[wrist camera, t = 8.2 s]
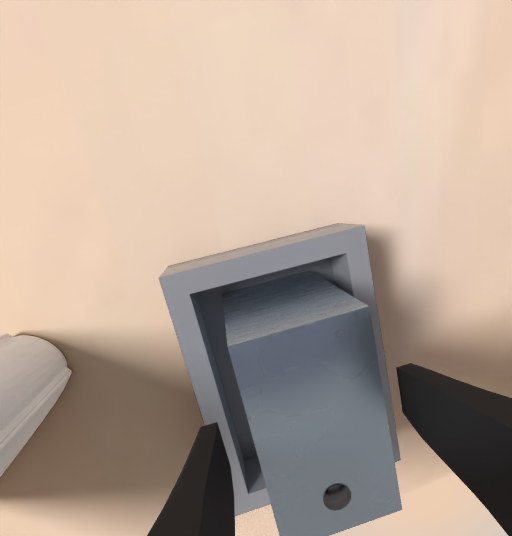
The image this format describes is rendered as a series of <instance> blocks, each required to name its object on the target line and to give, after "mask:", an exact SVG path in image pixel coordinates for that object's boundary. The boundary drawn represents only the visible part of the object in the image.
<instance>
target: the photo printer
mask: <svg viewBox="0 0 512 536" xmlns="http://www.w3.org/2000/svg"><path fill="white" fill-rule="evenodd" d="M71 373H72V371H71V370H70V369H68V368H67V361H66V359H65V357H64V356H63V354H62V353H61V352H60V351H59V350H58V349H57V348H56V347H55V346H54V345H52V344H51V343H49V342H48V341H46V340H43V339H41V338H38V337H34V336H29V335H19V336H15V337H13V336H12V335H9V334H4V335H1V336H0V477H1V475H2V474H3V473H4V471H5V470H6V469H7V468H8V466H9V465H10V464H11V462H12V461H13V460H14V458H15V457H16V456H17V455H18V453H19V452H20V451H21V449H22V448H23V447H24V445H25V444H26V443H27V441H28V440H29V439H30V437H31V436H32V435H33V433H34V432H35V431H36V429H37V428H38V426H39V425H40V424H41V422H42V421H43V420H44V418H45V417H46V415H47V414H48V412H49V411H50V410H51V408H52V407H53V405H54V404H55V403H56V401H57V400H58V398H59V396H60V395H61V393H62V391H63V390H64V388H65V386H66V384H67V382H68V380H69V378H70V375H71Z"/></svg>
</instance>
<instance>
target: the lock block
mask: <svg viewBox="0 0 512 536" xmlns="http://www.w3.org/2000/svg"><path fill="white" fill-rule="evenodd" d="M222 297H223V307H224V317H225V327H226V337H227V347H228V350H229V354H230V358H231V361H232V365H233V368H234V372H235V376H236V379H237V383H238V387H239V390H240V394H241V397H242V401H243V405H244V408H245V412H246V415H247V419H248V423H249V426H250V430H251V434H252V437H253V441H254V444H255V448H256V452H257V455H258V459H259V462H260V466H261V470H262V473H263V477H264V481H265V484H266V488H267V491H268V495H269V499H270V502H271V506H272V509H273V513H274V517H275V520H276V524H277V528H278V531H279V535H280V536H329V535H332V534H335V533H338V532H340V531H344V530H346V529H349V528H352V527H355V526H357V525H360V524H363V523H366V522H369V521H372V520H374V519H377V518H380V517H383V516H386V515H389V514H391V513H394V512H397V511H400V510H402V506H401V499H400V493H399V487H398V481H397V474H396V468H395V462H394V456H393V450H392V443H391V437H390V431H389V425H388V419H387V412H386V406H385V400H384V394H383V388H382V381H381V375H380V369H379V363H378V357H377V350H376V344H375V338H374V332H373V326H372V319H371V313H370V307H369V306H368V305H366V304H365V303H363V302H361V301H359V300H358V299H356V298H354V297H353V296H351V295H349V294H348V293H346V292H344V291H342V290H341V289H339V288H337V287H336V286H334V285H332V284H331V283H329V282H327V281H326V280H324V279H322V278H320V277H319V276H317V275H315V274H314V273H312V272H310V271H309V270H308V271H305V272H301V273H297V274H293V275H290V276H286V277H282V278H278V279H275V280H271V281H267V282H263V283H259V284H256V285H252V286H248V287H244V288H241V289H237V290H233V291H229V292H226V293H222Z"/></svg>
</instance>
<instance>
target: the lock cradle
mask: <svg viewBox="0 0 512 536" xmlns="http://www.w3.org/2000/svg"><path fill="white" fill-rule="evenodd" d="M308 270H309V271H310V272H312V273H314V274H315V275H317V276H319V277H320V278H322V279H324V280H326V281H327V282H329V283H331V284H332V285H334V286H336V287H337V288H339V289H341V290H342V291H344V292H346V293H348V294H349V295H351V296H353V297H354V298H356V299H358V300H359V301H361V302H363V303H365V304H366V305H368V306H369V307H370V313H371V319H372V326H373V332H374V338H375V344H376V350H377V357H378V363H379V369H380V375H381V381H382V388H383V394H384V400H385V406H386V412H387V419H388V425H389V431H390V437H391V443H392V450H393V456H394V462H397V461H399V460H401V459H400V452H399V446H398V440H397V433H396V427H395V420H394V414H393V408H392V401H391V395H390V388H389V382H388V375H387V369H386V363H385V356H384V350H383V343H382V337H381V330H380V324H379V318H378V311H377V305H376V298H375V292H374V285H373V279H372V273H371V266H370V260H369V253H368V247H367V241H366V234H365V228H364V225H354V224H339V223H337V224H333V225H329V226H325V227H321V228H317V229H314V230H310V231H306V232H302V233H298V234H294V235H290V236H286V237H282V238H278V239H274V240H270V241H266V242H262V243H258V244H254V245H250V246H246V247H242V248H238V249H234V250H230V251H226V252H222V253H218V254H214V255H210V256H207V257H203V258H199V259H195V260H191V261H187V262H183V263H179V264H175V265H171V266H168V268H167V269H166V270H165V271H164V272H163V273H162V274H161V275H160V277H159V281H160V284H161V287H162V290H163V293H164V297H165V300H166V303H167V306H168V309H169V313H170V316H171V319H172V322H173V325H174V329H175V332H176V335H177V338H178V341H179V344H180V348H181V351H182V354H183V357H184V360H185V364H186V367H187V370H188V373H189V376H190V380H191V383H192V386H193V389H194V392H195V396H196V399H197V402H198V405H199V408H200V411H201V415H202V418H203V421H204V424H205V426H206V425H209V424H212V423H216V422H217V423H218V426H219V429H220V433H221V436H222V439H223V443H224V446H225V449H226V453H227V456H228V459H229V462H230V466H231V472H232V481H233V490H234V507H235V516H237V515H240V514H243V513H246V512H249V511H252V510H255V509H258V508H260V507H263V506H266V505H269V504H271V502H270V499H269V495H268V491H267V488H266V484H265V481H264V477H263V473H262V470H261V466H260V462H259V459H258V455H257V452H256V448H255V444H254V441H253V437H252V434H251V430H250V426H249V423H248V419H247V415H246V412H245V408H244V405H243V401H242V397H241V394H240V390H239V387H238V383H237V379H236V376H235V372H234V368H233V365H232V361H231V358H230V354H229V350H228V347H227V337H226V327H225V317H224V307H223V297H222V293H226V292H229V291H233V290H237V289H241V288H244V287H248V286H252V285H256V284H259V283H263V282H267V281H271V280H275V279H278V278H282V277H286V276H290V275H293V274H297V273H301V272H305V271H308Z"/></svg>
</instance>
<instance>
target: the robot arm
mask: <svg viewBox="0 0 512 536" xmlns="http://www.w3.org/2000/svg"><path fill="white" fill-rule="evenodd" d="M396 369H397V376H398V382H399V389H400V396H401V403H402V410H403V413H404V415H405V416H406V417H407V419H408V420H409V421H410V423H411V424H412V426H413V427H414V428H415V430H416V431H417V432H418V434H419V435H420V436H421V437H422V438H423V440H424V441H425V442H426V443H427V444H428V445H429V446H430V447H431V448H432V449H433V450H434V452H435V453H436V454H437V455H438V456H439V457H440V458H441V459H442V460H443V461H444V462H445V463H446V464H447V466H448V467H449V468H450V469H451V470H452V471H453V472H454V473H455V474H456V475H457V476H458V477H459V478H460V479H461V480H462V482H463V483H464V484H465V485H466V486H467V487H468V488H469V489H470V490H471V491H472V492H473V493H474V494H475V495H476V497H477V498H478V499H479V500H480V501H481V502H482V504H484V506H485V507H486V508H487V509H488V510H489V512H490V513H491V514H492V516H493V517H494V518H495V519H496V520H497V522H498V523H499V524H500V526H501V527H502V528H503V529H504V530H505V532H506V533H507V534H508V535H509V536H512V398H509V397H506V396H502V395H499V394H496V393H493V392H490V391H487V390H484V389H481V388H478V387H475V386H472V385H469V384H466V383H464V382H461V381H458V380H455V379H453V378H450V377H447V376H445V375H442V374H439V373H437V372H434V371H431V370H429V369H426V368H423V367H420V366H417V365H414V364H411V363H410V364H407V365H404V366H400V367H397V368H396ZM147 536H235V507H234V490H233V481H232V472H231V466H230V462H229V459H228V456H227V453H226V449H225V446H224V443H223V439H222V436H221V433H220V429H219V426H218V423H217V422H216V423H212V424H209V425H206V426H202V427H201V428H200V430H199V432H198V434H197V437H196V439H195V442H194V444H193V447H192V449H191V452H190V454H189V456H188V459H187V461H186V463H185V465H184V467H183V470H182V472H181V474H180V476H179V478H178V480H177V482H176V484H175V486H174V488H173V490H172V492H171V494H170V496H169V498H168V500H167V502H166V504H165V506H164V508H163V509H162V511H161V513H160V515H159V516H158V518H157V520H156V522H155V523H154V525H153V527H152V528H151V530H150V532H149V533H148V535H147Z"/></svg>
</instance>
